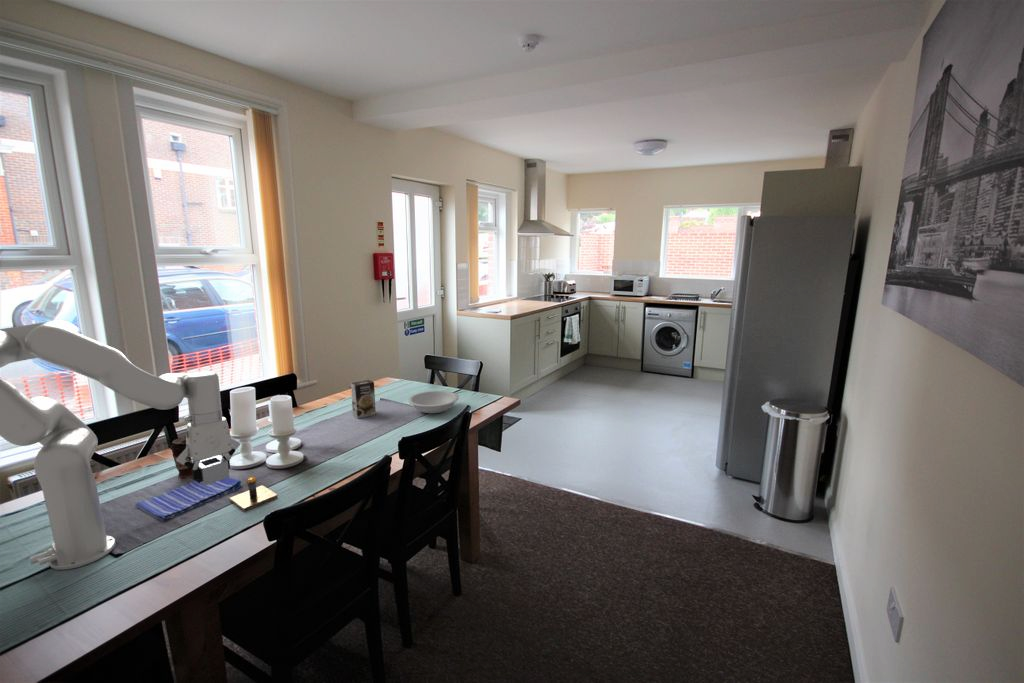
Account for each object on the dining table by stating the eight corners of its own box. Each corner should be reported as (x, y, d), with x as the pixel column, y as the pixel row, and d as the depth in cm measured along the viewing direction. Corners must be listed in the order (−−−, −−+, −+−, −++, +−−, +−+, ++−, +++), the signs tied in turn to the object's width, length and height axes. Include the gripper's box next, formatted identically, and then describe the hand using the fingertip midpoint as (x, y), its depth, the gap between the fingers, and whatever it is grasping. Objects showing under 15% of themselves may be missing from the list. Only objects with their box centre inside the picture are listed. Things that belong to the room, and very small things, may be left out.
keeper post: (244, 511, 139) (241, 490, 138) (229, 500, 145) (227, 480, 144) (277, 497, 147) (275, 477, 146) (262, 488, 153) (260, 468, 152)
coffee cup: (188, 481, 157) (183, 445, 155) (168, 479, 159) (162, 443, 156) (210, 470, 166) (205, 435, 163) (190, 468, 167) (185, 434, 165)
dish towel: (244, 487, 154) (243, 480, 154) (163, 523, 134) (161, 515, 134) (215, 475, 163) (214, 468, 162) (135, 508, 143) (133, 499, 142)
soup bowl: (399, 410, 227) (399, 397, 225) (441, 399, 243) (440, 387, 241) (426, 423, 209) (425, 409, 208) (468, 411, 225) (468, 398, 224)
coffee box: (357, 419, 215) (355, 385, 212) (352, 415, 220) (350, 382, 217) (376, 414, 221) (374, 382, 218) (371, 411, 226) (368, 379, 223)
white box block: (204, 485, 128) (202, 468, 127) (195, 478, 132) (193, 462, 131) (229, 477, 133) (227, 460, 132) (220, 470, 137) (218, 454, 136)
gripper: (174, 428, 120) (181, 492, 123) (245, 411, 134) (250, 470, 137) (164, 421, 124) (171, 483, 128) (233, 406, 138) (238, 462, 141)
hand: (212, 476), depth 132 cm, fingers closed on white box block, 6 cm apart
